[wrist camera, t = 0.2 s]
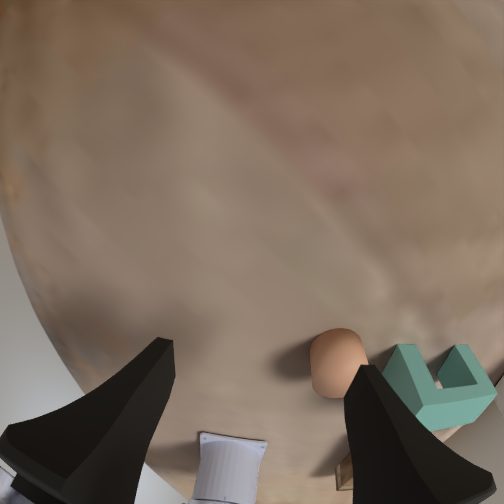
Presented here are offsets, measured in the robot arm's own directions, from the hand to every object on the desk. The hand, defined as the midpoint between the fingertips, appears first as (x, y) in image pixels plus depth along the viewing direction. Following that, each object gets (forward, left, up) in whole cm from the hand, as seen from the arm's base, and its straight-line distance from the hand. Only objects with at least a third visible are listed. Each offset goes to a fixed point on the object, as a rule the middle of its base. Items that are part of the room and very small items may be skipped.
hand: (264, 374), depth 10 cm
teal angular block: (-8, -16, -10) cm, 21 cm away
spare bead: (-7, -6, -10) cm, 14 cm away
